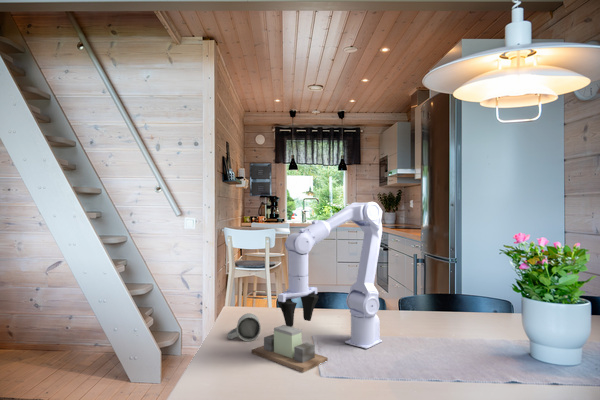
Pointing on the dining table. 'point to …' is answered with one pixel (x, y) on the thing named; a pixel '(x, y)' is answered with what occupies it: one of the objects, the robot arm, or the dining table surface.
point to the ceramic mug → (246, 328)
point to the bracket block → (286, 340)
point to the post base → (300, 361)
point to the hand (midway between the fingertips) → (298, 323)
